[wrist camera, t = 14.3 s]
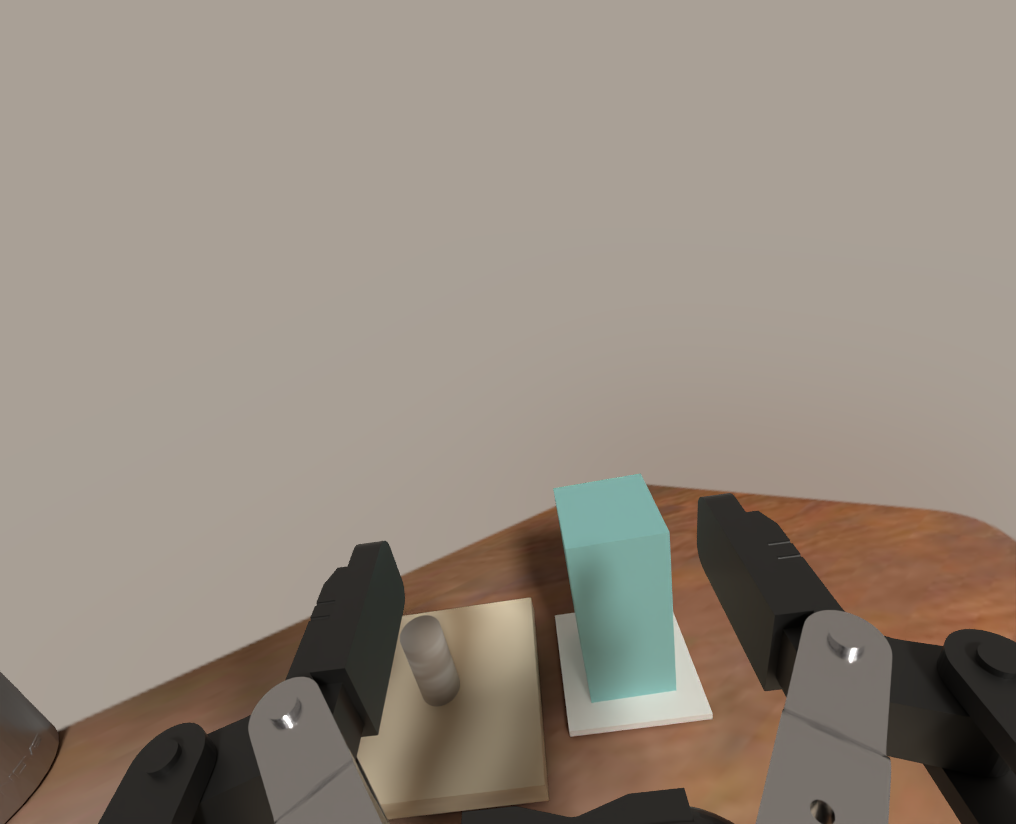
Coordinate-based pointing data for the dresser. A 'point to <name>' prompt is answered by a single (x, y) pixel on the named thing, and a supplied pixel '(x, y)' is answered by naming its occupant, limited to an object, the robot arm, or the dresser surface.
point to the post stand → (461, 714)
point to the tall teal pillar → (619, 586)
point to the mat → (632, 710)
